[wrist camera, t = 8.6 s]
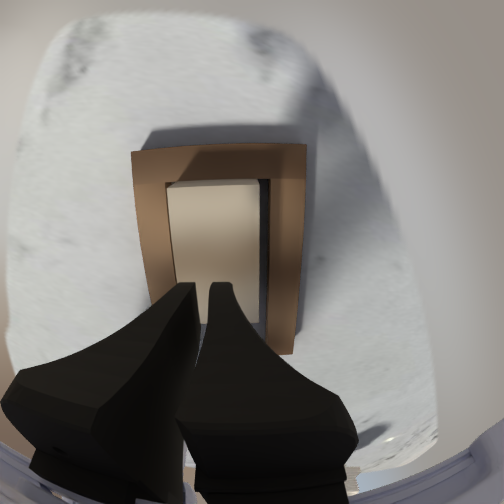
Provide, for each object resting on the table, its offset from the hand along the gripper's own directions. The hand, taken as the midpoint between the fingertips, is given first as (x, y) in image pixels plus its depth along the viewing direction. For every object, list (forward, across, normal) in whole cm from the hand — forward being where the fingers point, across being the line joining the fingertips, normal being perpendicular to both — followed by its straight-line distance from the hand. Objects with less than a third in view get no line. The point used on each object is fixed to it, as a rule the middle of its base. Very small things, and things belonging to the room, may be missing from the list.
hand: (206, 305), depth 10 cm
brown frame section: (+8, 0, +2) cm, 9 cm away
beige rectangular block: (+9, 0, 0) cm, 9 cm away
